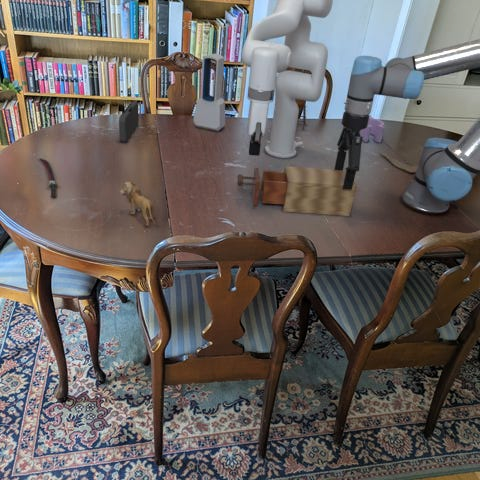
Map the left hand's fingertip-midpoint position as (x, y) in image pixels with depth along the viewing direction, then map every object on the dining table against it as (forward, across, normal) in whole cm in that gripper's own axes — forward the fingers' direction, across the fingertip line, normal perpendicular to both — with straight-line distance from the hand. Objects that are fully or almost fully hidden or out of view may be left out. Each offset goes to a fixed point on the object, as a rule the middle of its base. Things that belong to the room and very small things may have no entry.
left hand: (253, 154), depth 142 cm
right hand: (+6, 0, +29) cm, 29 cm away
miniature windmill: (+16, -76, +24) cm, 82 cm away
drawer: (+15, 0, +8) cm, 17 cm away
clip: (+16, -73, +56) cm, 93 cm away
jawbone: (+16, -41, +65) cm, 78 cm away
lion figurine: (+16, +15, -32) cm, 39 cm away
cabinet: (+16, 0, +22) cm, 27 cm away
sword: (+16, -5, -66) cm, 68 cm away
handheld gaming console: (+16, -50, -47) cm, 71 cm away
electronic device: (+16, -65, -15) cm, 69 cm away
